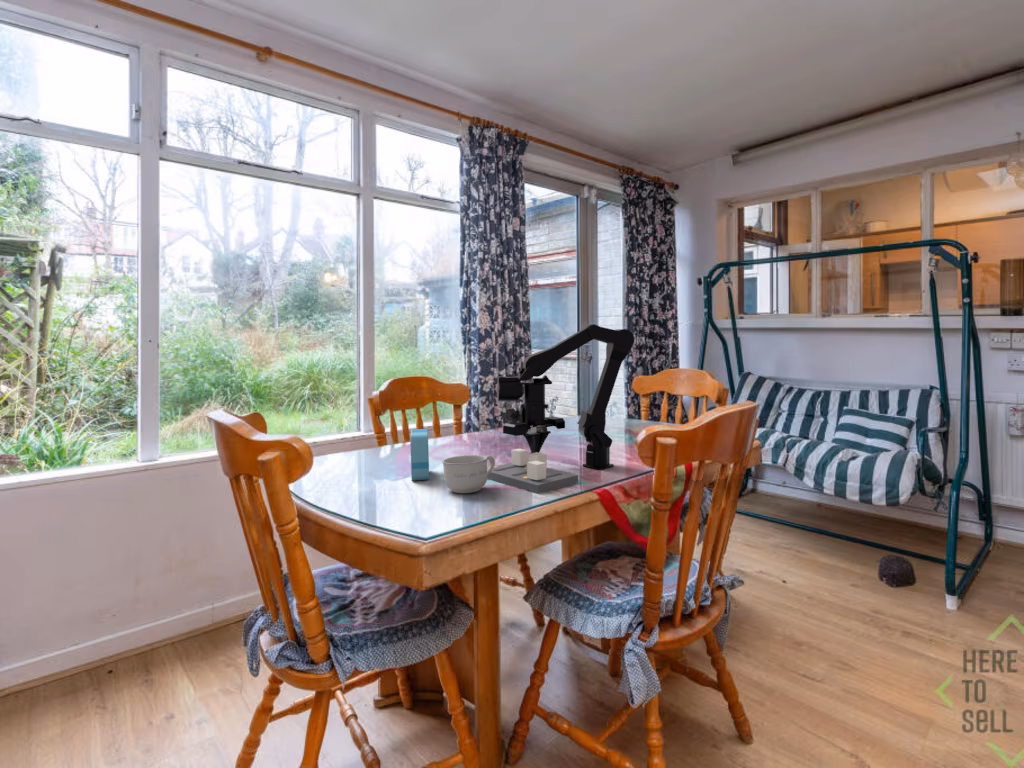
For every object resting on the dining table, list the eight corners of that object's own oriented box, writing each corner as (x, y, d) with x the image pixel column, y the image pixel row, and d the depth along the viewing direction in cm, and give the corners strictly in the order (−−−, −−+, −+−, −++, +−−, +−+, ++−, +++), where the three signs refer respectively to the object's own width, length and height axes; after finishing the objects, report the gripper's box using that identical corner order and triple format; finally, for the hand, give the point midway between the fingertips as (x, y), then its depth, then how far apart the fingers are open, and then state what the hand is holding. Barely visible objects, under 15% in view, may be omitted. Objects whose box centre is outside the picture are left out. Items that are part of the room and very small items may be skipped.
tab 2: (535, 475, 144) (535, 460, 144) (546, 478, 142) (545, 462, 141) (527, 477, 142) (526, 462, 142) (537, 480, 140) (536, 464, 139)
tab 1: (519, 462, 159) (519, 448, 159) (528, 464, 157) (528, 450, 156) (511, 463, 158) (511, 450, 157) (520, 466, 155) (520, 452, 154)
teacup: (453, 499, 133) (452, 465, 133) (436, 488, 143) (436, 456, 142) (507, 490, 140) (506, 458, 139) (487, 480, 149) (487, 450, 149)
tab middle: (537, 466, 154) (537, 452, 154) (546, 468, 151) (546, 454, 151) (528, 468, 152) (528, 453, 152) (538, 470, 150) (538, 456, 149)
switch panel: (519, 468, 163) (519, 460, 162) (577, 482, 146) (577, 474, 146) (480, 476, 154) (480, 469, 153) (537, 493, 137) (537, 484, 137)
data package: (429, 481, 150) (427, 435, 149) (411, 482, 149) (410, 436, 148) (429, 470, 162) (427, 427, 161) (412, 471, 161) (411, 428, 160)
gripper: (539, 395, 171) (539, 447, 173) (489, 401, 159) (490, 456, 161) (566, 398, 163) (566, 453, 164) (516, 404, 151) (516, 463, 152)
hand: (535, 456), depth 161 cm, fingers closed
